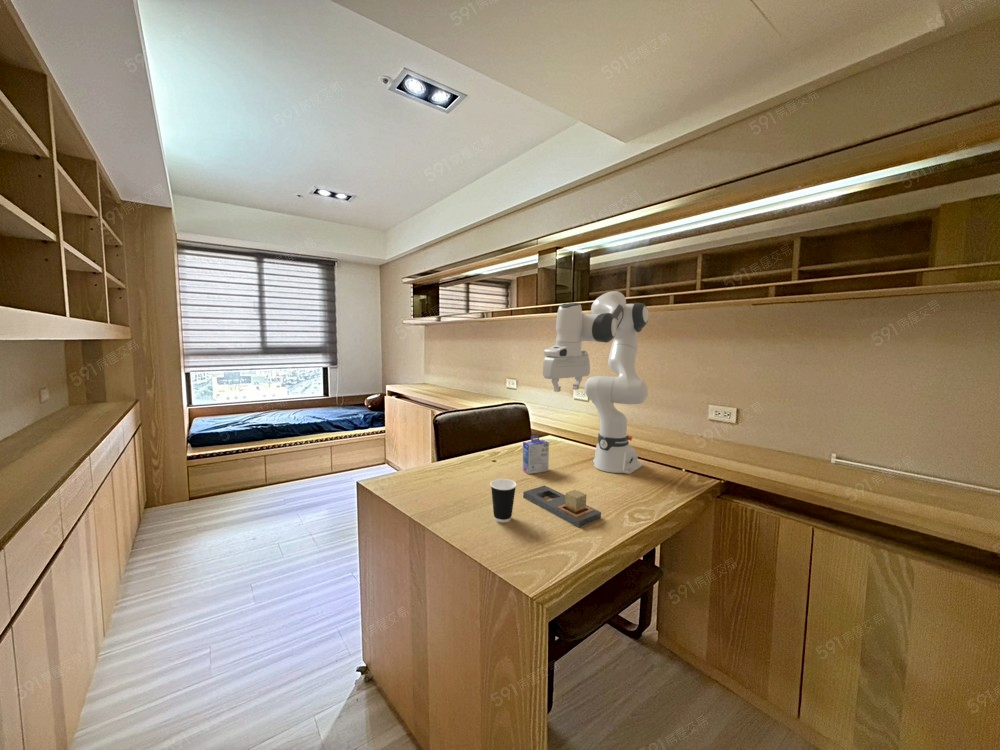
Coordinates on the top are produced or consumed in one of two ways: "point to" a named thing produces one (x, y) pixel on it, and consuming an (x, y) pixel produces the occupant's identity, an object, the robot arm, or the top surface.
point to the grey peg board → (560, 506)
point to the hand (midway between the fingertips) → (566, 390)
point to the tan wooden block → (575, 502)
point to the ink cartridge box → (535, 455)
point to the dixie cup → (503, 499)
